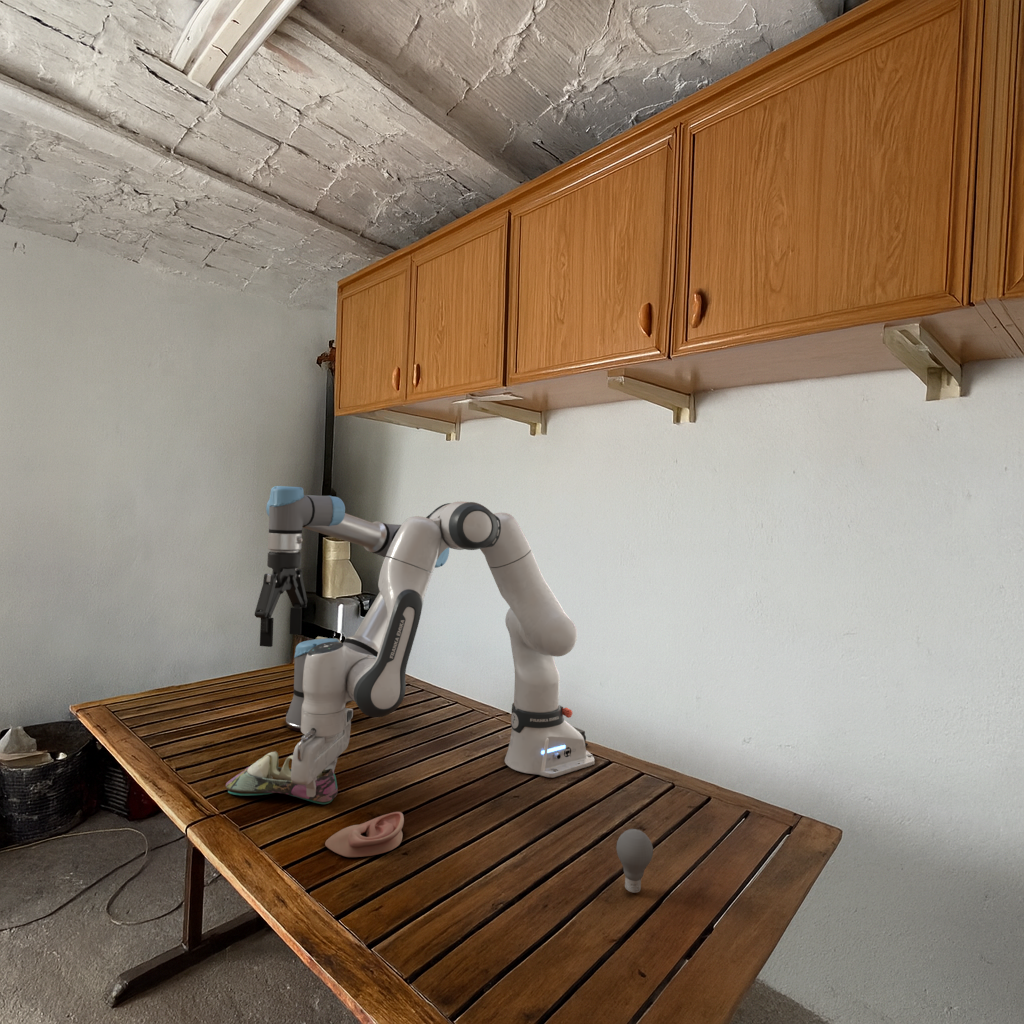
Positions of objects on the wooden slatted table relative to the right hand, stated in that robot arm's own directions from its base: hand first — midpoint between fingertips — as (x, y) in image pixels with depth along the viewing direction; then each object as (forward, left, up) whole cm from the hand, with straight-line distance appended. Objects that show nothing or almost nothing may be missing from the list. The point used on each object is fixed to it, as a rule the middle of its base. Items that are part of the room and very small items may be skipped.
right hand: (320, 787), depth 132 cm
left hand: (+6, -24, +26) cm, 36 cm away
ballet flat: (+7, -5, -3) cm, 9 cm away
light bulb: (-41, +51, -3) cm, 66 cm away
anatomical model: (-4, +20, -3) cm, 20 cm away
